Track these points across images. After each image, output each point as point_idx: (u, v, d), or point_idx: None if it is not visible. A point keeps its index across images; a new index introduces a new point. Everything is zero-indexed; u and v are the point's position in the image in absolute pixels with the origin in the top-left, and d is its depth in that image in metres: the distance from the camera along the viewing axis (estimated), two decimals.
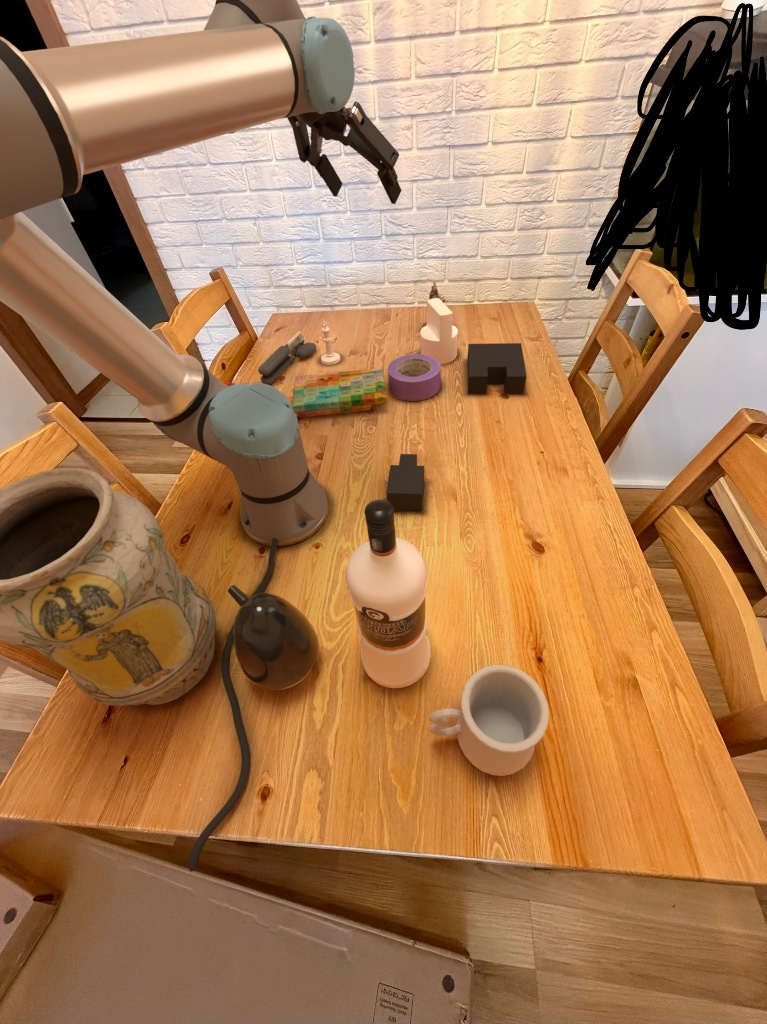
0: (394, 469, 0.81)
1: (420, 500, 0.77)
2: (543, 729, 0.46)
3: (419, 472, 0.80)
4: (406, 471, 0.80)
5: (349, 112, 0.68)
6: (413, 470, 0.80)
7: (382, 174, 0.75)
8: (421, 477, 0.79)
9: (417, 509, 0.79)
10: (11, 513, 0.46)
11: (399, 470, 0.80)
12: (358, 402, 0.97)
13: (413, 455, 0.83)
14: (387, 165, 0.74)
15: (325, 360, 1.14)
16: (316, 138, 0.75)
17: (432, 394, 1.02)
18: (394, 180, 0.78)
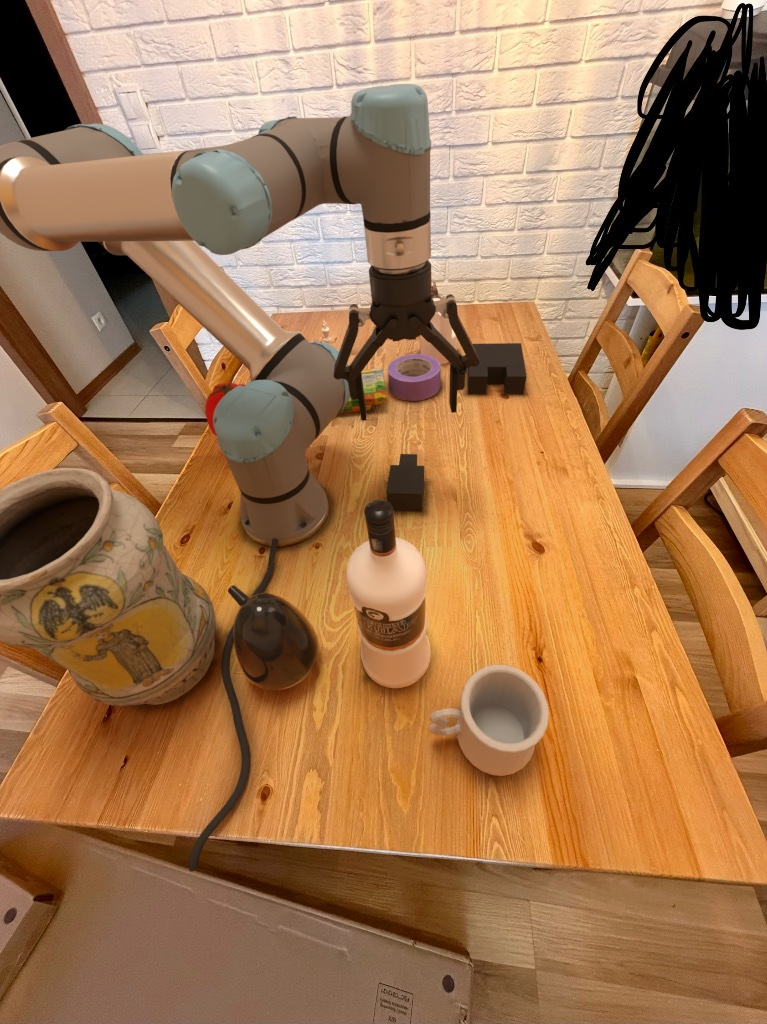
0: (394, 469, 0.81)
1: (420, 500, 0.77)
2: (543, 729, 0.46)
3: (419, 472, 0.80)
4: (406, 471, 0.80)
5: (356, 307, 0.59)
6: (413, 470, 0.80)
7: None
8: (421, 477, 0.79)
9: (417, 509, 0.79)
10: (11, 513, 0.46)
11: (399, 470, 0.80)
12: (358, 402, 0.97)
13: (413, 455, 0.83)
14: None
15: None
16: None
17: (432, 394, 1.02)
18: None
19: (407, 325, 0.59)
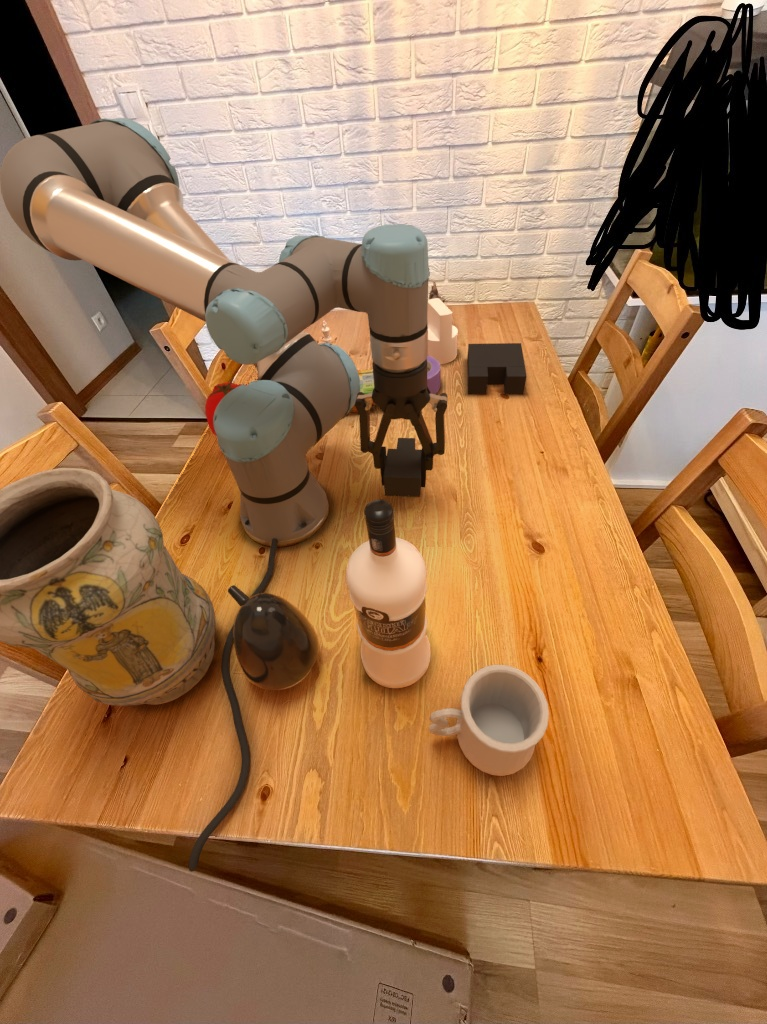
0: (391, 453, 0.78)
1: (418, 485, 0.75)
2: (543, 729, 0.46)
3: (417, 456, 0.77)
4: (404, 455, 0.78)
5: (361, 395, 0.68)
6: (411, 454, 0.78)
7: None
8: (419, 461, 0.76)
9: (415, 494, 0.77)
10: (11, 513, 0.46)
11: (397, 454, 0.78)
12: None
13: (411, 439, 0.80)
14: None
15: None
16: None
17: None
18: None
19: (403, 408, 0.67)
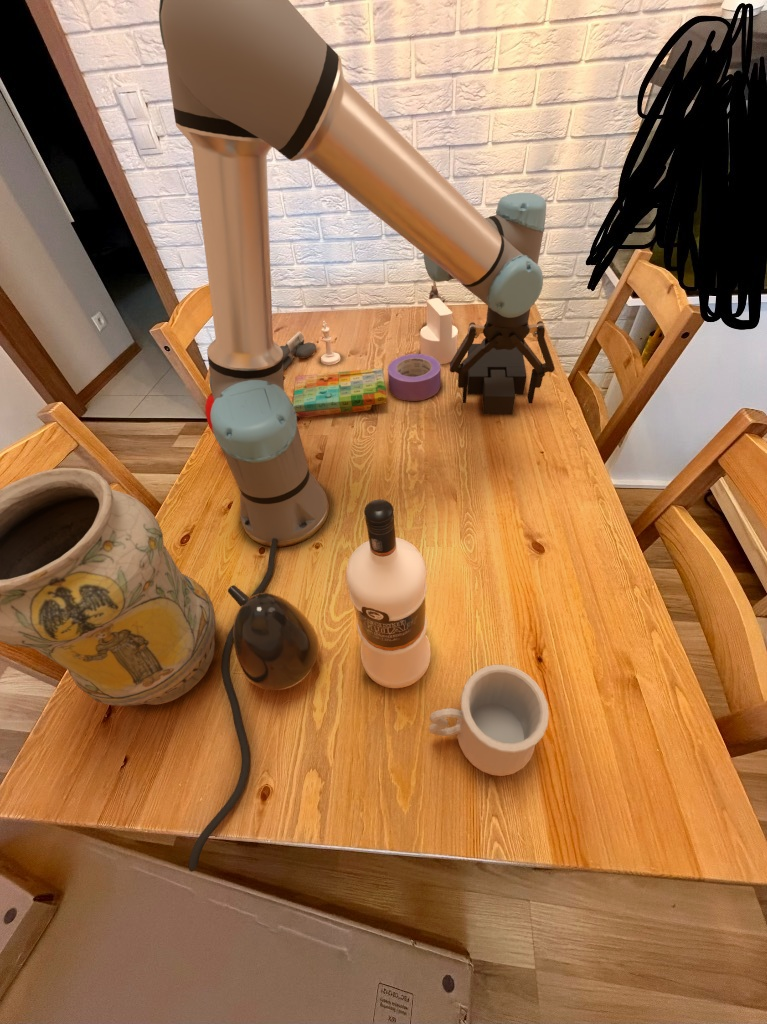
0: (488, 380, 0.97)
1: (513, 402, 0.94)
2: (543, 729, 0.46)
3: (509, 382, 0.96)
4: (498, 381, 0.96)
5: (474, 324, 0.87)
6: (504, 380, 0.96)
7: None
8: (512, 385, 0.95)
9: (509, 411, 0.95)
10: (11, 513, 0.46)
11: (492, 381, 0.97)
12: (358, 402, 0.97)
13: (502, 370, 0.99)
14: None
15: (325, 360, 1.14)
16: None
17: (432, 394, 1.02)
18: None
19: (507, 339, 0.86)
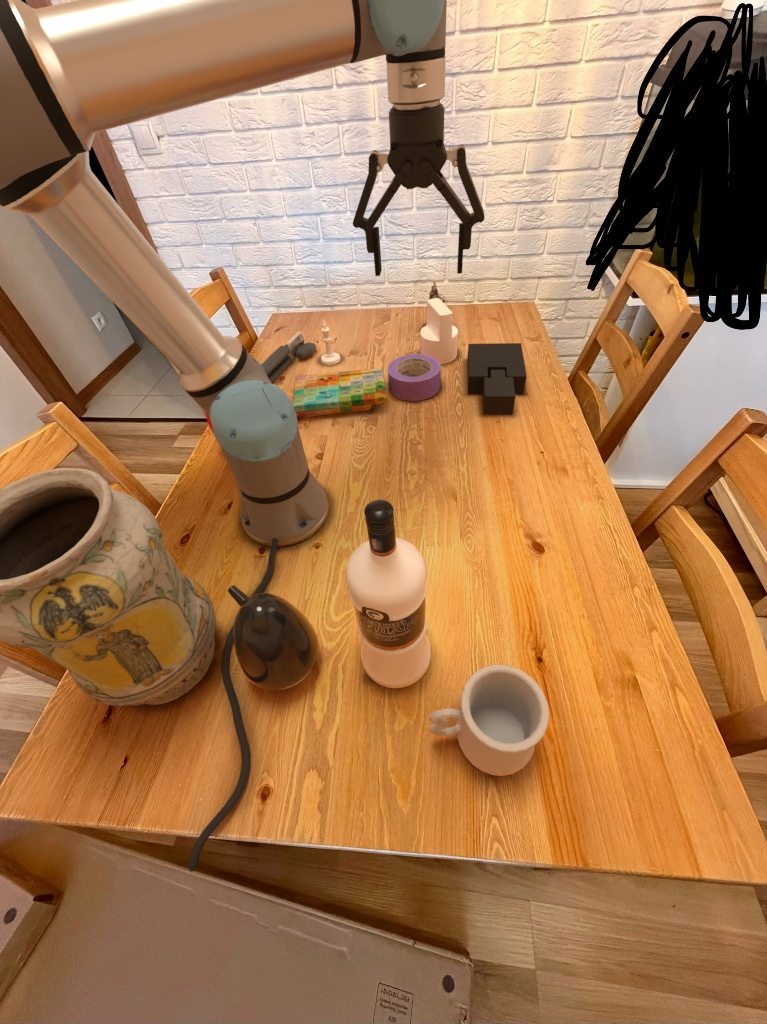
0: (488, 380, 0.97)
1: (513, 402, 0.94)
2: (543, 729, 0.46)
3: (509, 382, 0.96)
4: (498, 381, 0.96)
5: (376, 152, 0.66)
6: (504, 380, 0.96)
7: None
8: (512, 385, 0.95)
9: (509, 411, 0.95)
10: (11, 513, 0.46)
11: (492, 381, 0.97)
12: (358, 402, 0.97)
13: (502, 370, 0.99)
14: None
15: (325, 360, 1.14)
16: None
17: (432, 394, 1.02)
18: None
19: (420, 171, 0.66)
